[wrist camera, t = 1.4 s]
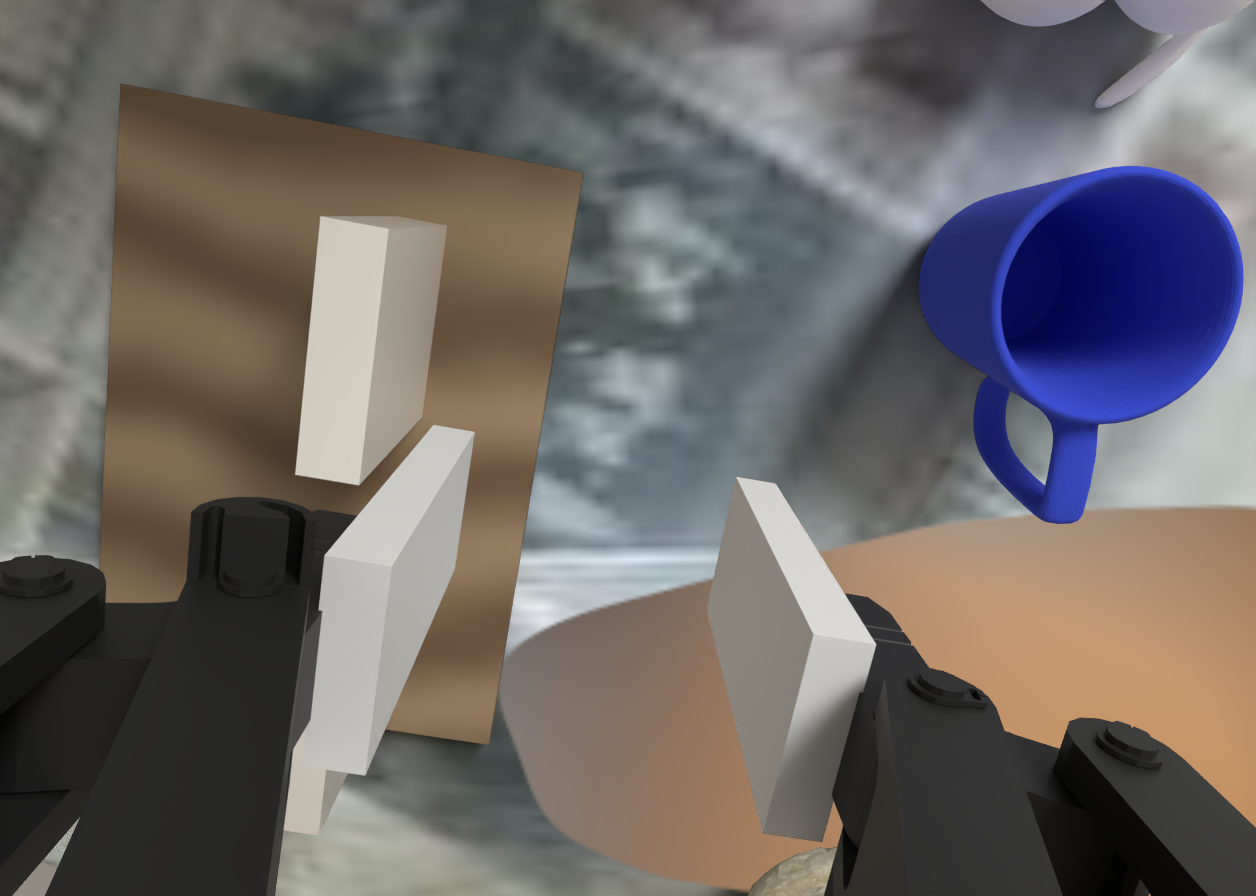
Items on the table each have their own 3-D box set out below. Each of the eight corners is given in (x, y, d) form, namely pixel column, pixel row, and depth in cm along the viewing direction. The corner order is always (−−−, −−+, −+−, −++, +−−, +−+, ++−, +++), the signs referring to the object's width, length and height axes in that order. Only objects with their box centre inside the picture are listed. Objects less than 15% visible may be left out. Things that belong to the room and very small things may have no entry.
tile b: (358, 519, 39) (276, 618, 30) (407, 527, 39) (342, 628, 30) (339, 683, 41) (256, 826, 31) (386, 690, 41) (318, 835, 32)
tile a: (393, 215, 36) (315, 215, 26) (447, 225, 36) (388, 228, 27) (371, 408, 38) (290, 473, 28) (422, 417, 38) (359, 485, 28)
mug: (872, 455, 40) (956, 531, 31) (906, 173, 37) (1010, 159, 28) (1053, 463, 41) (1193, 540, 31) (1101, 183, 38) (1272, 172, 28)
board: (136, 87, 36) (120, 83, 35) (583, 173, 37) (582, 172, 36) (108, 672, 42) (94, 685, 41) (491, 730, 43) (488, 744, 42)
